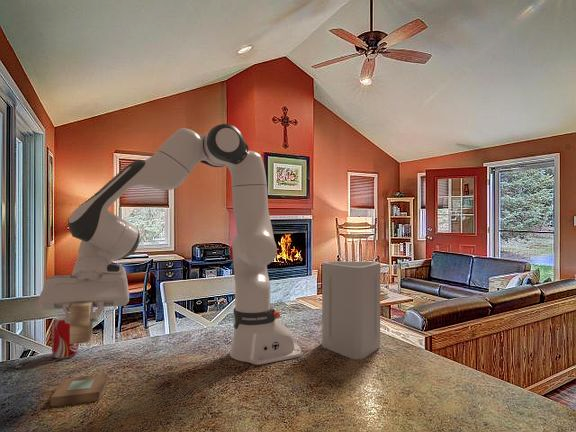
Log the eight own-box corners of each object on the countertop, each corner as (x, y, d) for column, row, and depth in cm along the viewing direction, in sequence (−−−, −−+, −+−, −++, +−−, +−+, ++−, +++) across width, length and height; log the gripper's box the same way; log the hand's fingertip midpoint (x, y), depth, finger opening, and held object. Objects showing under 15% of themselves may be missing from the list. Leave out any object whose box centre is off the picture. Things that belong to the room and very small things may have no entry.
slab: (107, 383, 95) (107, 373, 95) (99, 402, 85) (99, 391, 85) (64, 388, 92) (64, 378, 92) (50, 408, 82) (50, 397, 82)
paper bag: (326, 359, 111) (326, 267, 111) (321, 342, 125) (322, 261, 125) (389, 359, 111) (389, 267, 111) (377, 342, 125) (377, 261, 125)
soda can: (66, 361, 108) (66, 320, 108) (45, 359, 110) (46, 319, 110) (83, 352, 115) (84, 314, 115) (64, 350, 117) (65, 313, 117)
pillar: (92, 337, 91) (92, 301, 91) (88, 342, 88) (88, 305, 88) (74, 338, 90) (74, 302, 90) (69, 344, 86) (70, 306, 86)
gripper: (43, 268, 93) (27, 317, 83) (130, 266, 98) (124, 311, 89) (49, 283, 97) (34, 331, 87) (132, 280, 103) (127, 324, 93)
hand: (80, 321), depth 88 cm, fingers closed on pillar, 4 cm apart
